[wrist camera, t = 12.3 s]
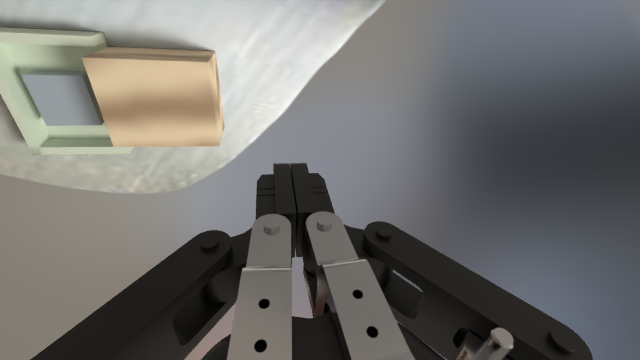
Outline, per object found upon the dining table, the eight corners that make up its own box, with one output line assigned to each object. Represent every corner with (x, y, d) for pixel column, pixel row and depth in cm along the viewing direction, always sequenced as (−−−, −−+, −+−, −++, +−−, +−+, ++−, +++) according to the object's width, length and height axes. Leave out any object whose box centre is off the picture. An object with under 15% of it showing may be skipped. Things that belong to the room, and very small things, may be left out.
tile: (81, 75, 33) (90, 71, 35) (21, 75, 32) (32, 70, 34) (101, 125, 36) (108, 119, 38) (46, 125, 35) (56, 119, 37)
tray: (-11, 26, 31) (-34, 30, 29) (103, 32, 33) (90, 36, 31) (47, 143, 39) (33, 154, 36) (137, 143, 41) (129, 153, 38)
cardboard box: (107, 46, 34) (81, 57, 29) (215, 51, 36) (207, 62, 31) (132, 126, 39) (113, 147, 35) (224, 126, 42) (219, 146, 37)
